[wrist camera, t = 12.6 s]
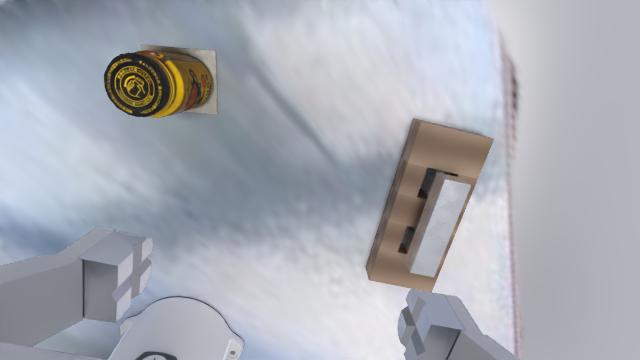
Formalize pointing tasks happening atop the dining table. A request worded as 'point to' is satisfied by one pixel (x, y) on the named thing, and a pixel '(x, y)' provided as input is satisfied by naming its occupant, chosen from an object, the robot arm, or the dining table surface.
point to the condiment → (163, 81)
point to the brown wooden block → (422, 196)
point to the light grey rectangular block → (434, 222)
